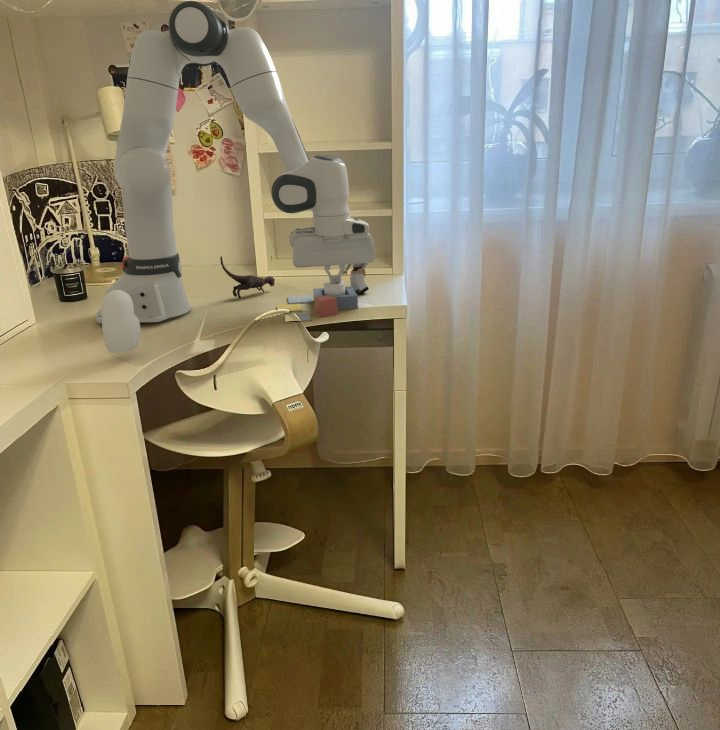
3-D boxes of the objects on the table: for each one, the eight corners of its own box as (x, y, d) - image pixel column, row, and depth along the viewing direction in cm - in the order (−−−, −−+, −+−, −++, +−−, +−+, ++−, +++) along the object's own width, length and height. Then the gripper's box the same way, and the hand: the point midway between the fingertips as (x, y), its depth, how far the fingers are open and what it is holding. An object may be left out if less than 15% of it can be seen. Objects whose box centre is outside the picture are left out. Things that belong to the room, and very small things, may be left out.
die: (322, 317, 155) (321, 300, 153) (315, 313, 158) (314, 297, 156) (337, 314, 156) (336, 298, 155) (330, 310, 160) (329, 294, 158)
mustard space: (277, 313, 159) (277, 311, 159) (276, 306, 164) (276, 305, 164) (302, 311, 160) (302, 310, 160) (301, 304, 165) (300, 303, 165)
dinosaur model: (279, 284, 178) (254, 236, 169) (247, 309, 173) (220, 261, 164) (270, 282, 181) (246, 234, 172) (239, 307, 176) (212, 259, 167)
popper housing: (316, 310, 160) (316, 298, 158) (313, 300, 169) (313, 288, 168) (357, 307, 161) (357, 295, 160) (352, 297, 170) (352, 286, 169)
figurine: (145, 340, 142) (137, 286, 138) (135, 352, 135) (126, 295, 131) (112, 342, 142) (102, 287, 138) (100, 354, 135) (89, 296, 131)
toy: (341, 293, 175) (338, 236, 169) (354, 289, 179) (352, 233, 173) (361, 297, 170) (359, 238, 165) (375, 292, 174) (373, 235, 169)
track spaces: (284, 322, 151) (284, 321, 151) (281, 295, 175) (281, 294, 175) (349, 317, 153) (349, 316, 153) (338, 291, 177) (338, 290, 177)
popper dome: (325, 302, 162) (324, 286, 160) (323, 297, 166) (323, 281, 165) (346, 300, 162) (346, 284, 161) (344, 295, 167) (343, 280, 166)
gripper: (289, 231, 154) (293, 288, 159) (375, 225, 157) (377, 282, 161) (288, 227, 160) (292, 282, 165) (371, 221, 162) (373, 276, 167)
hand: (335, 282), depth 163 cm, fingers closed, pressing on popper dome
